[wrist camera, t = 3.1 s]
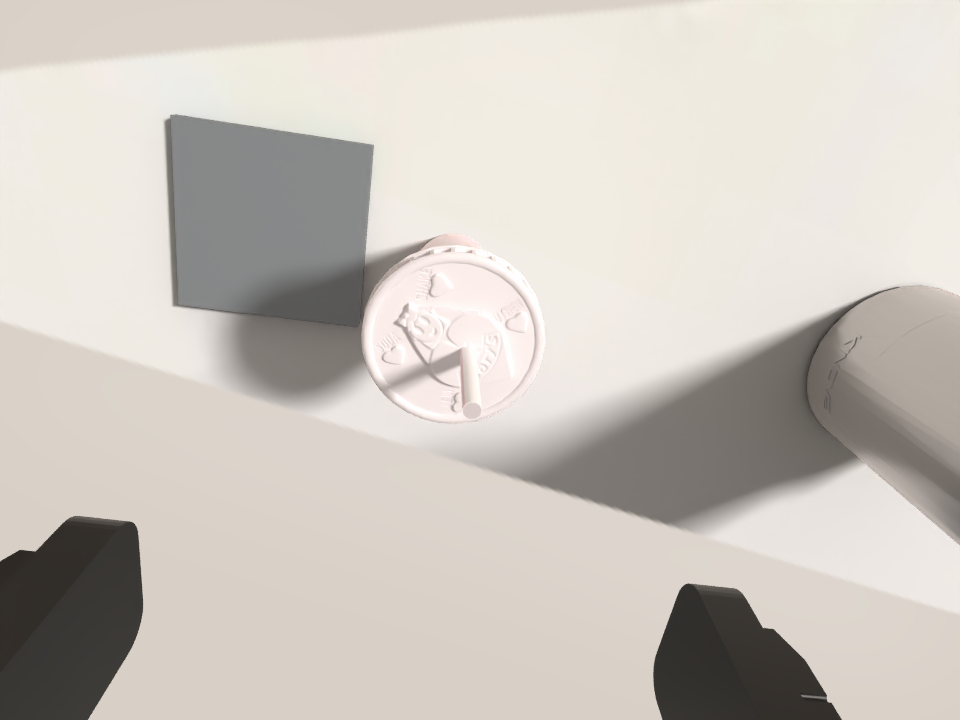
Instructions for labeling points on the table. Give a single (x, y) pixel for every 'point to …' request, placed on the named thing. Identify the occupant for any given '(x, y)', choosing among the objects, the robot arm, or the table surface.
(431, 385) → the smoothie
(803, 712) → the robot arm
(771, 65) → the table surface
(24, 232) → the table surface
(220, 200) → the coaster
